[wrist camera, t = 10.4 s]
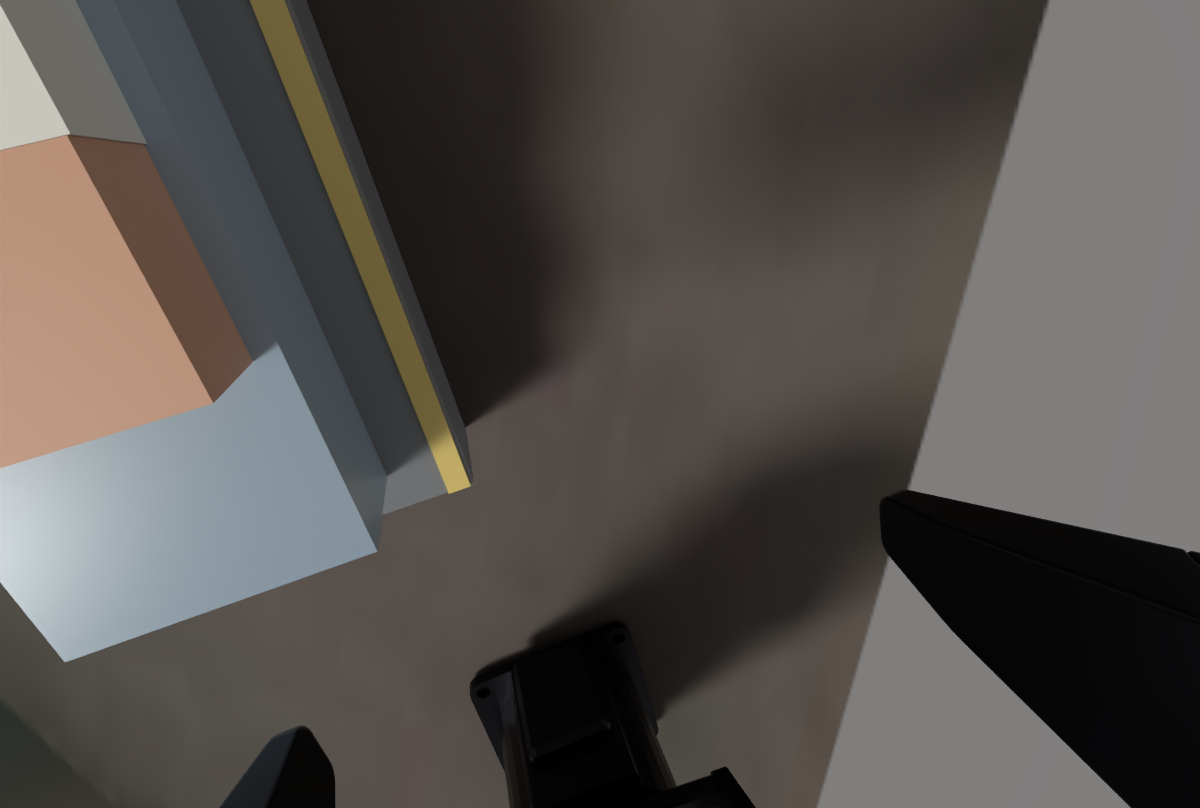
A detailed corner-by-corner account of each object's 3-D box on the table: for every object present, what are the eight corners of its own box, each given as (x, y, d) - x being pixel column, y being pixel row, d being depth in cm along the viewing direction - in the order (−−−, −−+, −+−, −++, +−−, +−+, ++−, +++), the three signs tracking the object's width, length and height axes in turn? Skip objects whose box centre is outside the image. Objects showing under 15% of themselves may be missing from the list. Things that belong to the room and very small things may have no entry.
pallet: (387, 476, 16) (377, 551, 12) (142, 558, 15) (65, 662, 12) (-1, -399, 9) (-219, -696, 6) (-469, -349, 8) (-1009, -668, 5)
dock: (465, 428, 20) (474, 485, 16) (146, 534, 18) (75, 623, 15) (190, -313, 13) (94, -513, 9) (-365, -238, 11) (-748, -441, 8)
